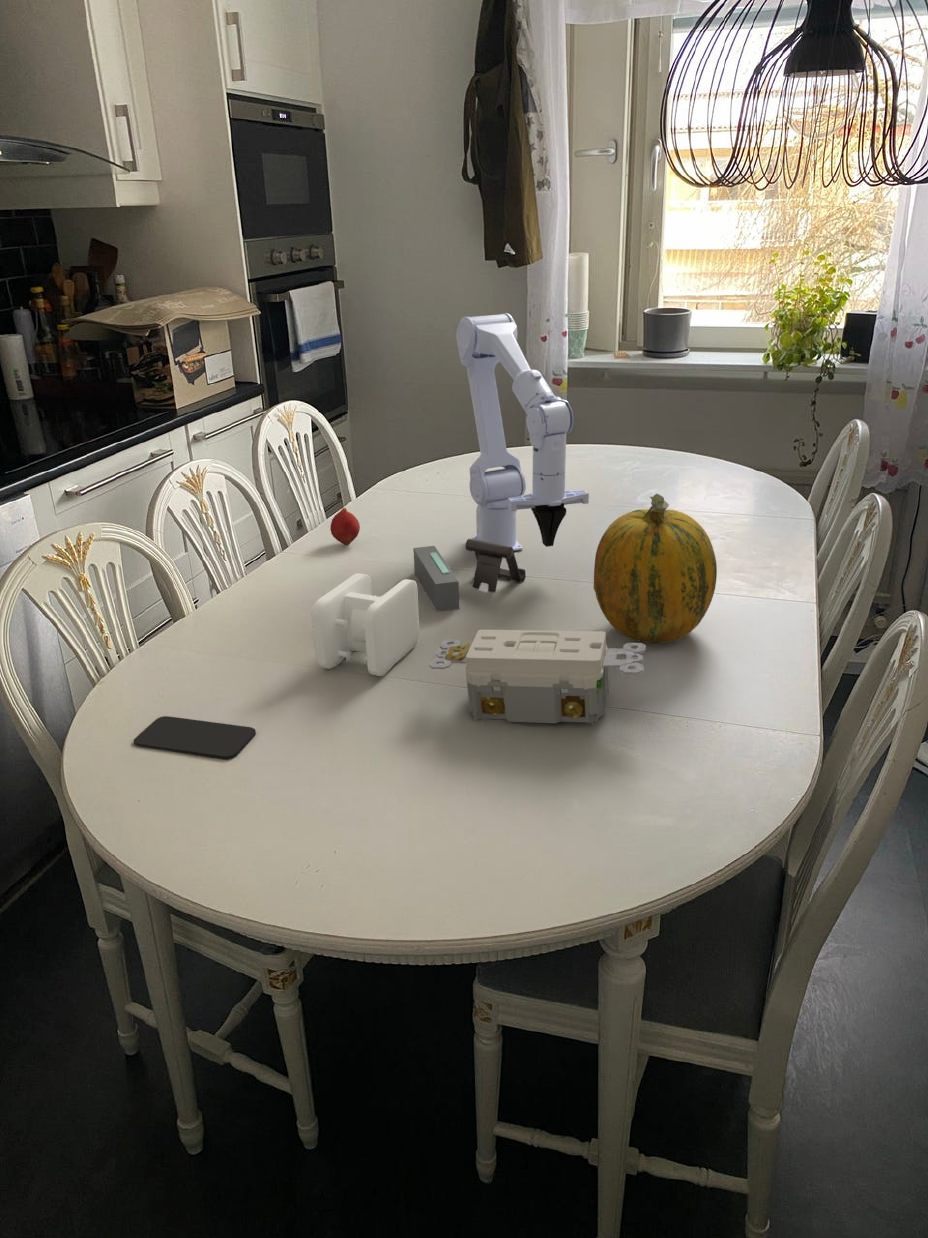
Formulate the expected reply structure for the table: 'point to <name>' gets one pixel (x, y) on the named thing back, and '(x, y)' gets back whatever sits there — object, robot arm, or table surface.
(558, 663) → the electrical outlet
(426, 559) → the charging dock
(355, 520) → the onion
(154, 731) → the phone
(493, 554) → the portable electronic device stand
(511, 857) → the table surface
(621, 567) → the pumpkin
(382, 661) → the cable organizer
